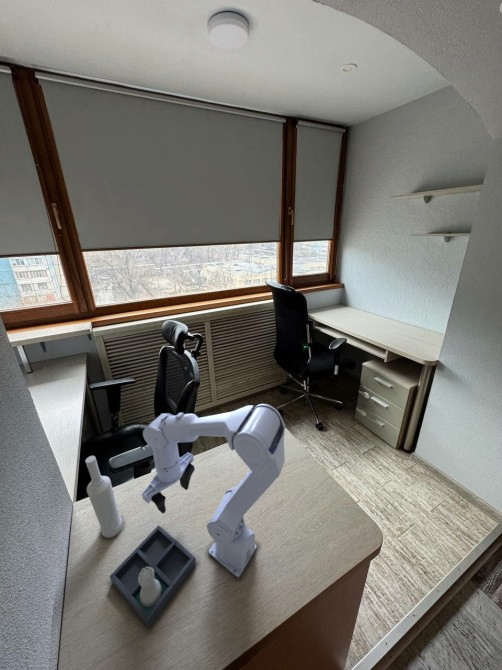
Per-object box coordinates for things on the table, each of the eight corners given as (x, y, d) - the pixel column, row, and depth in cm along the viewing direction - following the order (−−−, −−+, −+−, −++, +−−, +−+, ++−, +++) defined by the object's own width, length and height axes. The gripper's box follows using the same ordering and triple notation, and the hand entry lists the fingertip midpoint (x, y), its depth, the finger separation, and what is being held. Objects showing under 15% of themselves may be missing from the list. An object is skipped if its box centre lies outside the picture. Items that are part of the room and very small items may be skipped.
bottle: (114, 540, 69) (91, 470, 60) (97, 536, 70) (72, 466, 61) (126, 520, 74) (107, 452, 65) (110, 517, 75) (89, 449, 66)
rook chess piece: (165, 583, 60) (160, 562, 57) (156, 609, 56) (151, 588, 53) (146, 581, 61) (140, 559, 58) (136, 606, 57) (129, 585, 54)
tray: (196, 563, 65) (195, 557, 64) (148, 628, 54) (146, 621, 53) (159, 531, 71) (158, 524, 70) (111, 582, 61) (109, 576, 60)
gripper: (178, 434, 73) (183, 471, 78) (130, 473, 61) (140, 513, 67) (197, 445, 69) (201, 483, 74) (149, 488, 58) (158, 529, 63)
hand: (173, 498), depth 70 cm, fingers open, 7 cm apart
